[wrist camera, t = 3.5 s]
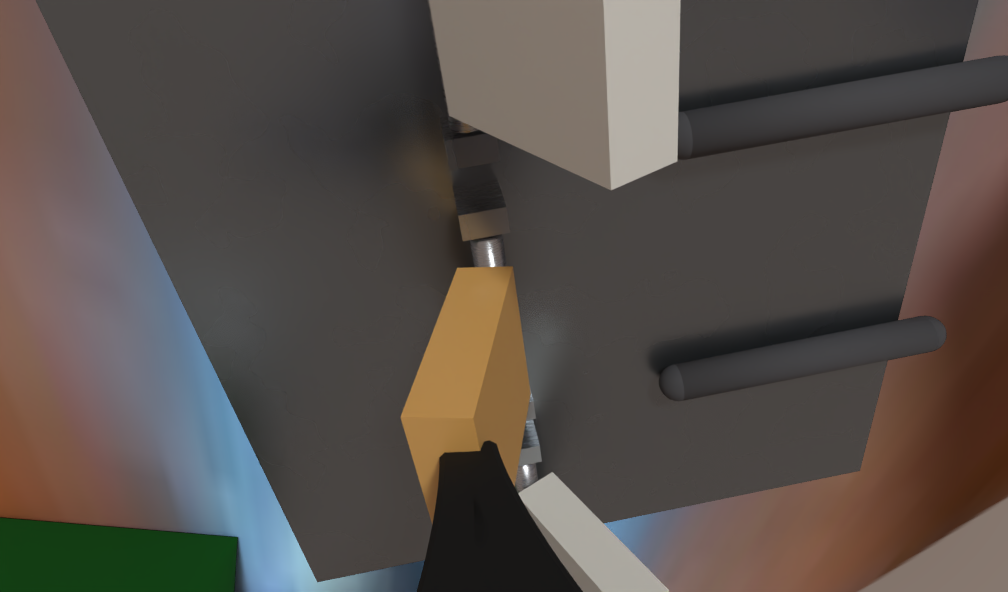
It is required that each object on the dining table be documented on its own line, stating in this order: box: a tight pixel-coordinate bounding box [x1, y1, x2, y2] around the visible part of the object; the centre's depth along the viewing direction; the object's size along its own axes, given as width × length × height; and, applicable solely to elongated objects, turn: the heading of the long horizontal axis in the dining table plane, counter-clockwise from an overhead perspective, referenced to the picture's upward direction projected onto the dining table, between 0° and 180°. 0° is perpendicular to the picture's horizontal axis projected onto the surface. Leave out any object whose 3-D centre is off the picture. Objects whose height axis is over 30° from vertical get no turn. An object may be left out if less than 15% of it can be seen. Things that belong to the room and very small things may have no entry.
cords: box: [659, 55, 1008, 401], centre depth 16 cm, size 8×8×1 cm
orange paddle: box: [401, 266, 531, 524], centre depth 13 cm, size 1×4×4 cm, turn 7°
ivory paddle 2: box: [518, 472, 669, 592], centre depth 18 cm, size 1×4×4 cm, turn 7°
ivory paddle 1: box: [429, 0, 681, 190], centre depth 10 cm, size 1×4×4 cm, turn 7°
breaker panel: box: [36, 0, 978, 582], centre depth 17 cm, size 18×20×3 cm
